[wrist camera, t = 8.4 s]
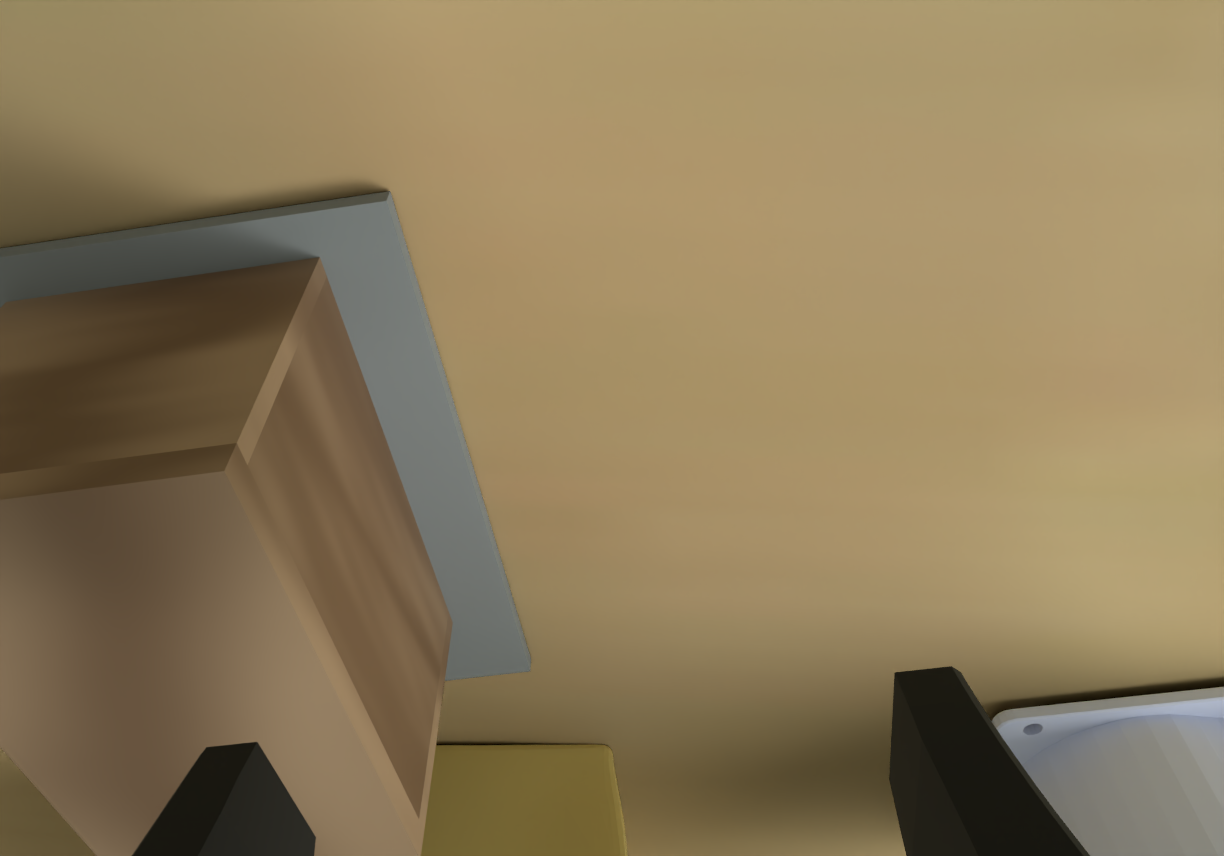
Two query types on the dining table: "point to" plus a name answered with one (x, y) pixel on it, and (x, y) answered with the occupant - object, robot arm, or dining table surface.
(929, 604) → the dining table surface
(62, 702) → the walnut cover
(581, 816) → the cheese
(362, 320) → the mat
